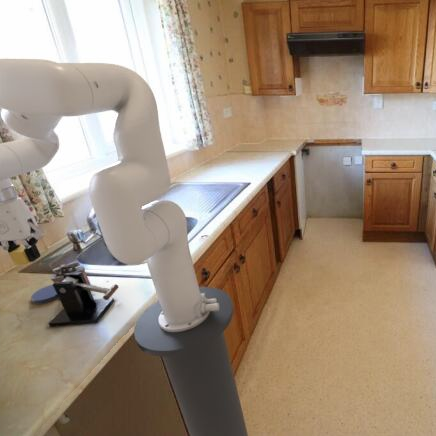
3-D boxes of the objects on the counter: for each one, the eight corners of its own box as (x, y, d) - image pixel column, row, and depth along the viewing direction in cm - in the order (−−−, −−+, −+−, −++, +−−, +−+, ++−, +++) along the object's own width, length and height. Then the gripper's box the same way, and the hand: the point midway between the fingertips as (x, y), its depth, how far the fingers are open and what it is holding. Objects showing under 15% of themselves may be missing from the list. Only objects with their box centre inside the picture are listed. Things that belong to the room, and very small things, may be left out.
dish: (71, 286, 101) (70, 282, 101) (54, 302, 94) (52, 299, 93) (45, 287, 101) (43, 284, 100) (25, 304, 93) (23, 301, 93)
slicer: (114, 301, 93) (101, 266, 88) (96, 323, 85) (80, 286, 80) (72, 304, 93) (55, 270, 88) (49, 326, 85) (30, 290, 80)
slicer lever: (118, 290, 90) (119, 283, 89) (108, 302, 85) (109, 295, 84) (70, 280, 87) (70, 273, 86) (57, 292, 83) (57, 284, 82)
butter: (27, 256, 88) (22, 244, 87) (40, 255, 88) (34, 243, 87) (15, 264, 84) (8, 253, 83) (27, 264, 85) (21, 252, 83)
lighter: (60, 301, 94) (46, 273, 90) (60, 296, 97) (46, 268, 92) (93, 290, 99) (81, 262, 94) (92, 285, 101) (80, 257, 97)
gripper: (-56, 203, 75) (-17, 269, 83) (19, 199, 76) (50, 265, 84) (-26, 192, 82) (7, 254, 89) (42, 188, 83) (68, 250, 90)
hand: (27, 259), depth 86 cm, fingers closed on butter, 3 cm apart
